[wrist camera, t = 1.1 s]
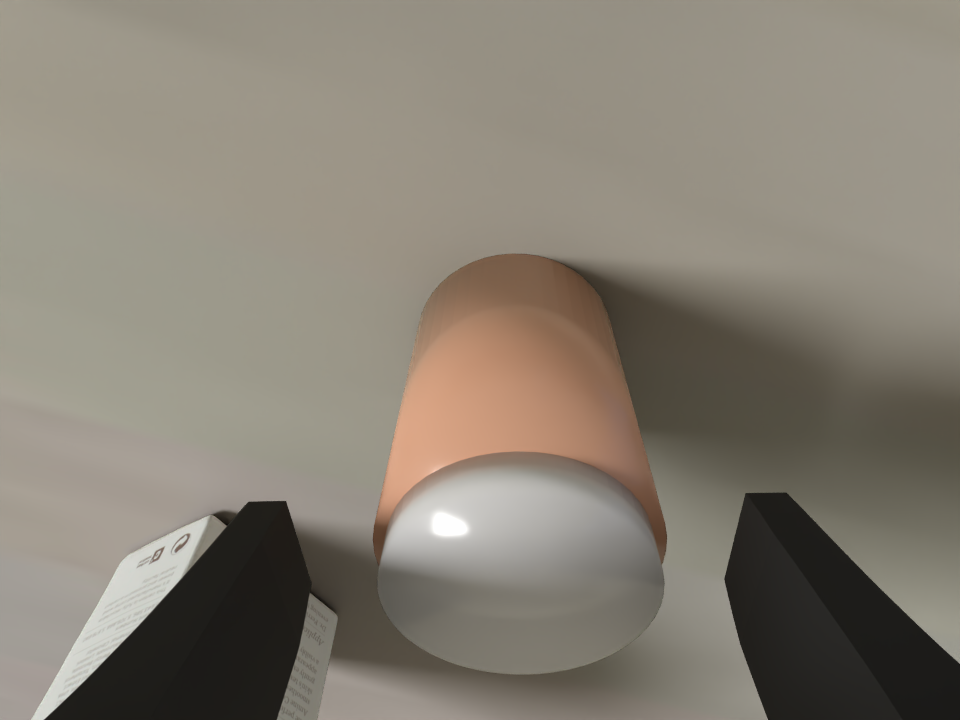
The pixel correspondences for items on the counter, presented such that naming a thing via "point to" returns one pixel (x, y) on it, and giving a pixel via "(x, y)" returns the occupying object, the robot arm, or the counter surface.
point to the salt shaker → (518, 479)
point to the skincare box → (143, 589)
